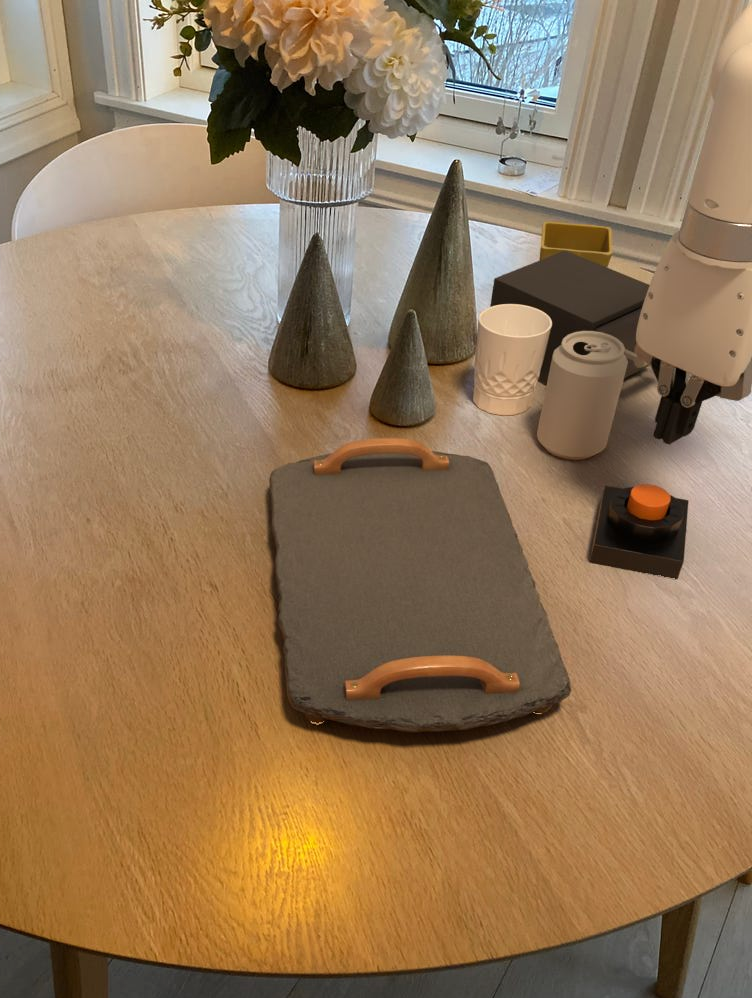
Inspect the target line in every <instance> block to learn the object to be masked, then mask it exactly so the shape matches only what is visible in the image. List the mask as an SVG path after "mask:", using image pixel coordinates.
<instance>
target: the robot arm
mask: <svg viewBox="0 0 752 998" xmlns="http://www.w3.org/2000/svg"><path fill="white" fill-rule="evenodd" d="M709 79H710V85H709V88H710V93H711V97H712V100H713V104H712V108H711V111H710V114H709V119H708V122H707V126H706V130H705V134H704V137H703V142H702V146H701V149H700V152H699V156H698V159H697V164H696V168H695V171H694V175H693V179H692V183H691V187H690V190H689V194H688V199H687V201H686V206H685V209H684V214H683V217H682V220H681V225H680V228H679V231H676V232H674V234H673V235H672V236H671V237H670V239H669V241H668V243H667V245H666V246H665V249H664V251H663V252H662V254H661V257H660V258H659V261H658V263H657V265H656V268H655V270H654V272H653V275H652V278H651V280H650V283H649V285H650V286H649V288H648V291H647V294H646V297H645V300H644V303H643V307H642V310H641V314H640V317H639V321H638V326H637V331H636V342H637V344H636V346H635V348H634V352H635V354H636V355H637V356H638V357H640V358H641V359H642V360H643V361H645V362H646V363H647V364H648V365H649V366H650V367H651V370H652V372H653V374H654V376H655V378H656V380H657V386H656V391H657V393H658V395H659V396H660V400H659V402H658V403H659V404H658V407H657V410H656V414H655V417H654V423H656V424H655V427H654V431H653V434H652V437H653V438H654V439H656V440H662V442H663V443H664V444H666V445H669V446H670V445H672V444H673V443H675V442H677V441H678V440H680V439H682V438H683V437H687V436H689V435H690V434H691V433H692V432H693V430H694V429H695V427H696V424H697V420H698V417H699V414H700V410H701V408H702V404H703V402H705V401H706V400H710V399H712V398H715V397H717V398H718V397H719V398H720V399H724V400H728V401H729V400H730V401H734V402H739V401H741V400H743V399H745V398H747V397H749V396H750V395H751V393H752V0H750V2H748V4H747V6H746V7H744V9H743V10H742V12H740V14H739V15H738V17H737V18H736V20H735V21H734V23H733V24H732V25H731V27H730V29H729V30H728V32H727V34H726V35H725V37H724V39H723V41H722V42H721V44H720V47H719V48H718V51H717V53H716V55H715V58H714V61H713V64H712V68H711V73H710V78H709ZM690 374H691V375H690Z"/></svg>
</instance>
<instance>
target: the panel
mask: <svg viewBox="0 0 752 998" xmlns="http://www.w3.org/2000/svg"><path fill="white" fill-rule="evenodd" d="M634 487H635V486H629V487H623V488H622V487H617V486H610V485H604V488H603V491H602V495H601V499H600V502H599V508H598V514H597V517H596V518H597V519H596V524H595V529H594V535H593V541H592V546H591V551H590V557H589V563H590V564H595V565H599V566H605V567H609V566H610V568H615V569H620V570H626V571H630V570H631V571H630V572H635V573H640V572H641V574H645V573H648V574H647V575H650V574H653V575H652V576H655V575H661V576H664V577H663V578H665V577H670V578H675V579H674V580H676V579H677V580H678V579H679V576H680V573H681V571H682V569H683V568H682V567H683V565H684V562H685V549H686V539H687V526H688V512H689V499H684V498H679V497H675V496H674V495H672V494H670V497H671V500H670V503H669V506H668V510H667V513H666V515H665V517H664V518H663V519H659V520H647V519H641V518H638V517H637V516H635V515H633V514H631V513H629V512H628V510H627V503H628V500H629V497H630V493H631V490H632V489H633V488H634ZM636 571H637V572H636ZM649 573H650V574H649ZM670 578H669V579H670Z"/></svg>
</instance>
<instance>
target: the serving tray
mask: <svg viewBox="0 0 752 998" xmlns="http://www.w3.org/2000/svg"><path fill="white" fill-rule="evenodd" d="M268 481H269V493H270V494H269V495H270V509H271V525H270V529H271V532H272V536H273V540H274V544H275V549H276V552H275V560H274V579H275V581H276V584H277V595H278V599H279V602H278V603H279V604H278V609H277V611H278V616H277V624H278V628H279V629H280V631H281V636H282V639H283V640H284V642H283V645H282V651H283V654H284V658H283V659H284V661H283V662H284V673H285V685H286V686H285V687H286V695H287V699H288V701H289V704H290V706H291V707H292V708H293V709H294V710H296V711H299V712H301V713H303V714H304V717H305V719H306V720H307V719H308V720H310V721H312V722H316V723H319V722H323V721H325V722H326V721H328V720H330V721H333V722H334V721H335V722H339V723H343V724H346V725H348V726H359V727H364V728H368V729H379V730H392V731H399V732H405V733H419V732H420V733H421V732H445V731H465V730H471V729H475V728H479V727H489V726H492V725H497V724H499V723H505V722H508V721H510V720H514V719H517V718H518V719H519V718H522V717H525V716H527V715H529V714H533V713H532V712H535V713H544V714H545V713H547V712H549V710H551V708H552V707H553V705H557V704H558V703H560V702H562V701H564V700H565V699H567V698H569V696H570V695H571V693H572V687H571V680H570V677H569V673H568V671H567V668H566V666H565V664H564V663H565V662H564V661H563V658H562V654H561V651H560V648H559V643H558V642H557V641H556V638H555V636H554V635H555V634H554V633H553V630H552V627H551V623H550V621H549V618H548V613H547V612H546V610H545V607H544V605H543V602H542V601H540V599H541V598H540V594H539V592H538V590H537V588H536V587H537V584H536V582H535V581H536V580H535V579H534V577H533V576H532V572H531V570H530V569H529V562H528V559H527V558H526V556H525V554H524V549H523V547H522V545H521V542H520V540H519V538H518V534H517V531H516V529H515V527H514V525H513V521H512V518H511V516H510V513H509V511H508V508H507V505H506V502H505V500H504V497H503V495H502V492H501V490H500V486H499V483H498V482H497V479H496V476H495V473H494V471H493V468H492V467H491V465H490V464H489V463H488V462H487V461H484V460H481V459H478V458H475V457H472V456H470V455H462V454H457V453H447V452H442V451H436V450H431V449H430V448H429V447H428V446H427V445H425V444H423V443H422V442H420V441H418V440H415V439H409V438H401V437H377V438H366V439H360V440H355V441H350V442H348V443H345V444H343V445H341V446H339V447H338V448H337V449H335V450H334V451H333V452H331V453H326V454H322V455H317V456H316V455H315V456H311V457H309V458H305V459H300V460H298V461H295V462H288V463H285V464H283V465H282V466H278V468H275V469H274V470H272V471H271V472H270V475H269V479H268ZM308 720H307V721H308Z"/></svg>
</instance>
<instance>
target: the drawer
mask: <svg viewBox="0 0 752 998" xmlns="http://www.w3.org/2000/svg"><path fill="white" fill-rule="evenodd" d="M642 307H643V306H642ZM642 307H639V308H637V309H635V310H633V311H631V312H628V313H626V314H624V315H622V316H620V317H618V318H615V319H613V320H611V321H609V322H607V323H604V324H602V325H600V326H598V327H596V329H595V331H596V332H602V333H605V334H609V335H611V336H613V337H615V338H617V339H618V340H620V341H621V342H622V343H623V345H624V347H625V351H624V355H625V356H626V358H627V361H628V364H627V368H626V372H625V376H624V379H626V378H627V377H629V376H631V375H634V374H635V373H637V372H639V371H641V370H643V369H646V368H647V367H649V366H650V365H648V364H647V363H646V362H645V361H643V360H642V359H641V358H640V357H638V356H637V355H636V354H635V352H634V348H635V346H636V344H637V342H636V331H637V326H638V321H639V317H640V314H641V310H642Z"/></svg>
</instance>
